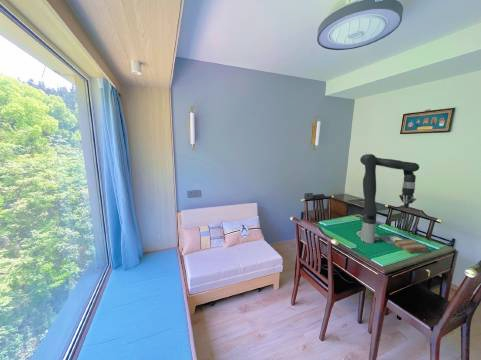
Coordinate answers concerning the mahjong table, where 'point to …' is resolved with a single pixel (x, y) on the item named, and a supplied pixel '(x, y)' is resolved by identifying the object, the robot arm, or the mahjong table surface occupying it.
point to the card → (395, 238)
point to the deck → (411, 246)
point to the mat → (387, 238)
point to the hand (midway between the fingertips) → (406, 207)
